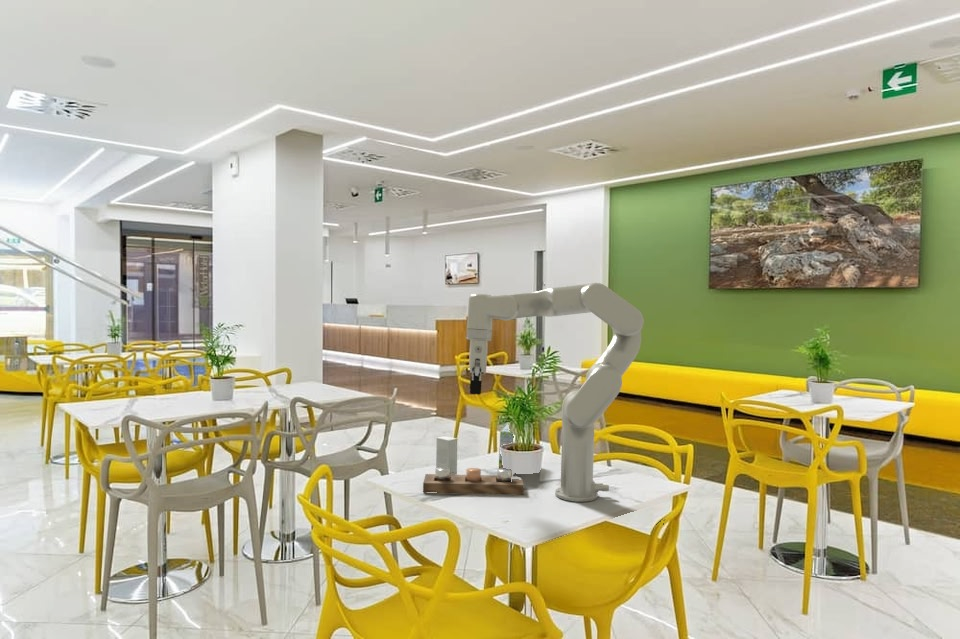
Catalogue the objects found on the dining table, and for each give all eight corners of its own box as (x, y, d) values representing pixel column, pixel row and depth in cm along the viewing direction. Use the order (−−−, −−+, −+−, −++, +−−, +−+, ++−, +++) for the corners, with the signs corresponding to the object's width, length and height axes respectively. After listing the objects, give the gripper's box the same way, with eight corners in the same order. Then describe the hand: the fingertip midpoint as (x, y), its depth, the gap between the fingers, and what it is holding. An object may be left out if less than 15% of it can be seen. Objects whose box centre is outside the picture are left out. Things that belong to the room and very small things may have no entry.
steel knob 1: (449, 478, 201) (450, 467, 201) (449, 482, 196) (449, 471, 196) (435, 477, 201) (435, 467, 201) (434, 481, 196) (435, 470, 196)
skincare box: (457, 474, 215) (458, 438, 215) (448, 476, 212) (449, 440, 212) (444, 470, 219) (444, 435, 219) (435, 473, 216) (436, 437, 216)
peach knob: (480, 478, 201) (480, 467, 201) (480, 482, 196) (480, 471, 196) (466, 478, 201) (466, 467, 201) (466, 482, 196) (466, 471, 196)
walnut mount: (520, 485, 204) (521, 475, 204) (523, 494, 194) (523, 484, 194) (425, 483, 204) (425, 474, 203) (423, 492, 194) (423, 483, 193)
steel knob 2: (511, 479, 201) (511, 468, 201) (511, 483, 196) (512, 472, 196) (496, 479, 201) (497, 468, 201) (497, 483, 196) (497, 472, 196)
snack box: (514, 477, 213) (515, 432, 212) (497, 476, 214) (498, 431, 213) (523, 462, 234) (524, 420, 233) (507, 461, 235) (508, 419, 234)
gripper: (492, 337, 185) (488, 396, 186) (490, 334, 203) (486, 388, 203) (466, 336, 185) (462, 395, 186) (466, 332, 203) (463, 387, 203)
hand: (475, 391), depth 195 cm, fingers open, 9 cm apart
